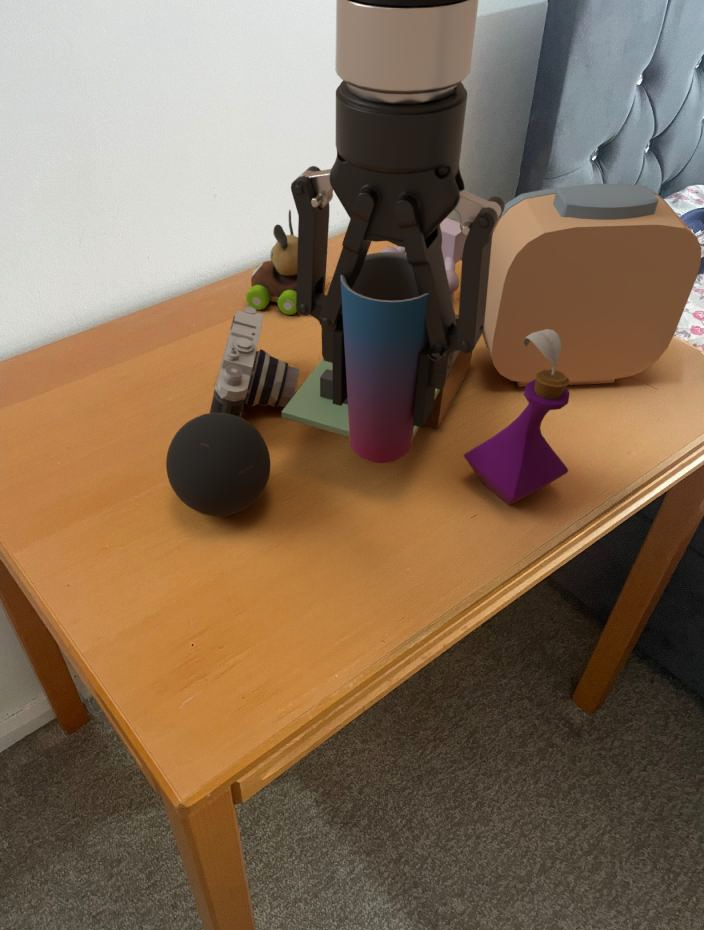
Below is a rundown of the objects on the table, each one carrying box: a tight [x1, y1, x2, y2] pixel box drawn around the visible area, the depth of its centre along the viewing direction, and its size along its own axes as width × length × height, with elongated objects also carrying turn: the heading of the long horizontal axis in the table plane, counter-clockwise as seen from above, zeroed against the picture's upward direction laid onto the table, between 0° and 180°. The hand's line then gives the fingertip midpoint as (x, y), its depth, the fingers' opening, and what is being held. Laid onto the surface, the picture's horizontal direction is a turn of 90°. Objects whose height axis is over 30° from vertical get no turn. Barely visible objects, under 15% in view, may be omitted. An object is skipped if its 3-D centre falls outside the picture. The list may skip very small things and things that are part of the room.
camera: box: [209, 305, 300, 418], centre depth 84 cm, size 16×9×10 cm, turn 176°
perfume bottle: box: [463, 329, 570, 506], centre depth 71 cm, size 8×8×18 cm
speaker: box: [165, 412, 271, 517], centre depth 73 cm, size 10×10×10 cm
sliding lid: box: [281, 358, 440, 440], centre depth 76 cm, size 13×13×3 cm
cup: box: [340, 251, 429, 464], centre depth 57 cm, size 7×7×15 cm
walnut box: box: [423, 314, 474, 429], centre depth 88 cm, size 13×13×7 cm
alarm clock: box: [481, 183, 702, 388], centre depth 85 cm, size 21×10×22 cm, turn 94°
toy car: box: [245, 209, 298, 316], centre depth 100 cm, size 9×9×11 cm
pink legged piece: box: [380, 217, 467, 305], centre depth 100 cm, size 20×11×14 cm, turn 48°
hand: (382, 405), depth 59 cm, fingers closed on cup, 6 cm apart
